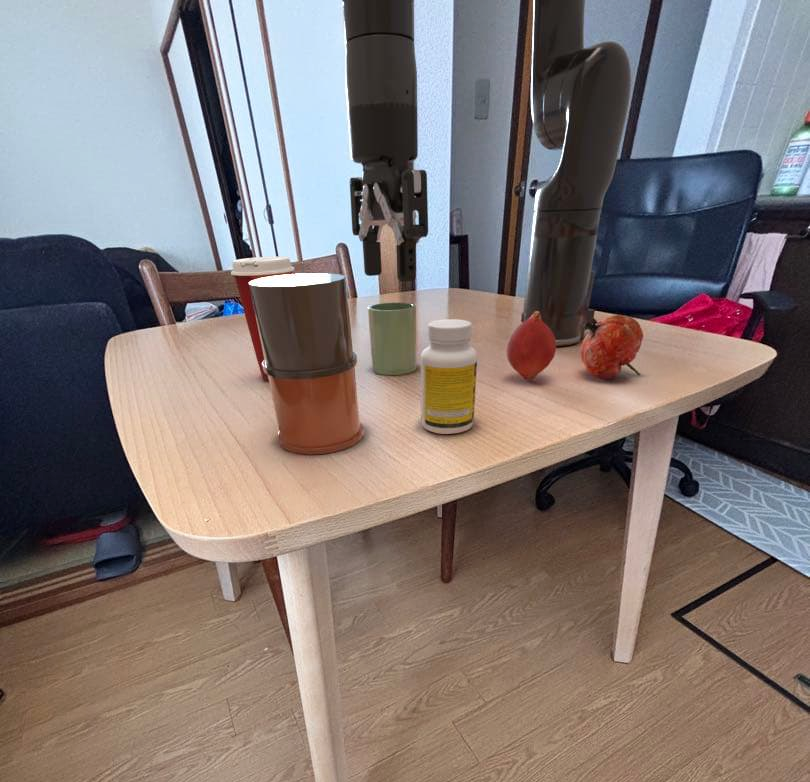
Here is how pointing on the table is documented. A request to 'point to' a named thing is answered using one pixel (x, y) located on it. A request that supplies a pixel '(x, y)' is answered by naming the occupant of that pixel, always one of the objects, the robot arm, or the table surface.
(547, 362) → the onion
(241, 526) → the table surface
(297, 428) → the cup stack
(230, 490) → the table surface
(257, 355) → the paper cup
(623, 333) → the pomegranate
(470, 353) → the supplement bottle
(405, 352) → the green cup
